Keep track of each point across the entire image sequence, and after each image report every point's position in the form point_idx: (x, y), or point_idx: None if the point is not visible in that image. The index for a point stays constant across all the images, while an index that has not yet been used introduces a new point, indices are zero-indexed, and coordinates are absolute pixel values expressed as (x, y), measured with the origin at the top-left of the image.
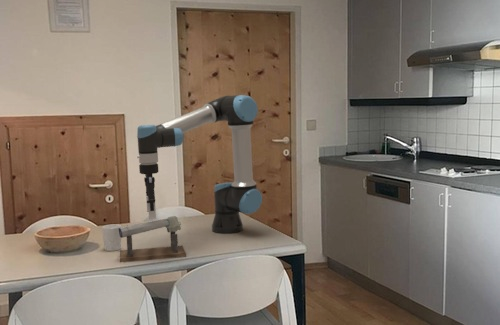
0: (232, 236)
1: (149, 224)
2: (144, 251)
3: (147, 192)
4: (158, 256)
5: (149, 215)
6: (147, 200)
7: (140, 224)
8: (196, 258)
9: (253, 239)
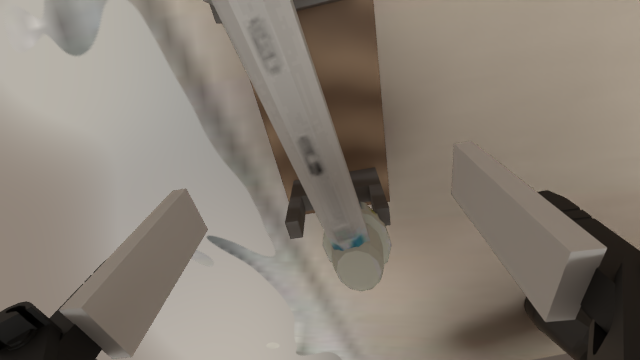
0: (486, 302)
1: (289, 149)
2: (326, 68)
3: (615, 357)
4: (268, 133)
5: (158, 211)
6: (523, 221)
7: (269, 89)
8: (274, 234)
9: (434, 334)
